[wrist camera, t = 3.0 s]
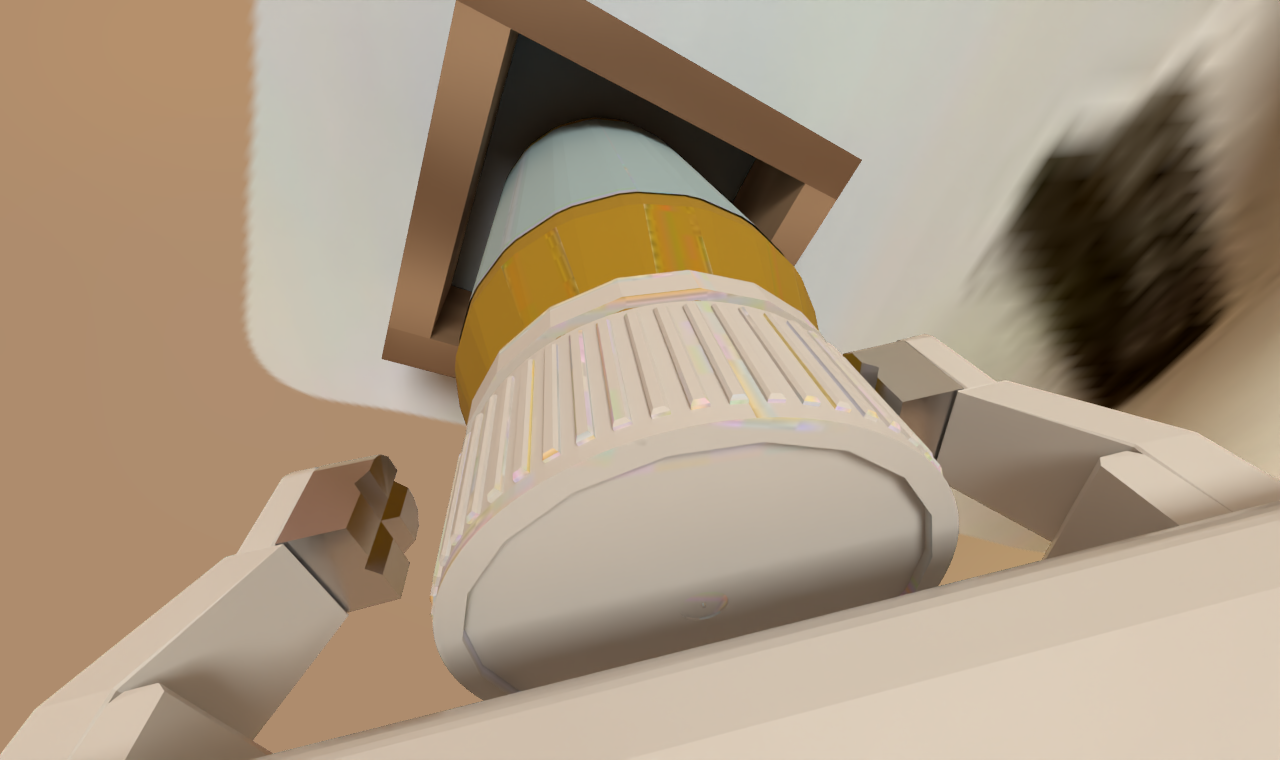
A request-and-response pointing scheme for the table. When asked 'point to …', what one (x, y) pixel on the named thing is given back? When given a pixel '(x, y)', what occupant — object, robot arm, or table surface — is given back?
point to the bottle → (658, 432)
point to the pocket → (571, 26)
